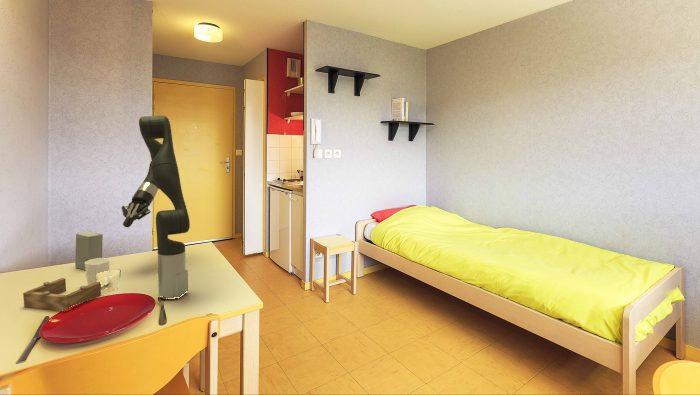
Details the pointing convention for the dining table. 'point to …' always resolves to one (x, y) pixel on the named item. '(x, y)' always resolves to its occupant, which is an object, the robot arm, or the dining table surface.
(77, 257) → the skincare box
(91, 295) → the wooden tray
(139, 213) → the robot arm
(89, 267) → the white cup
